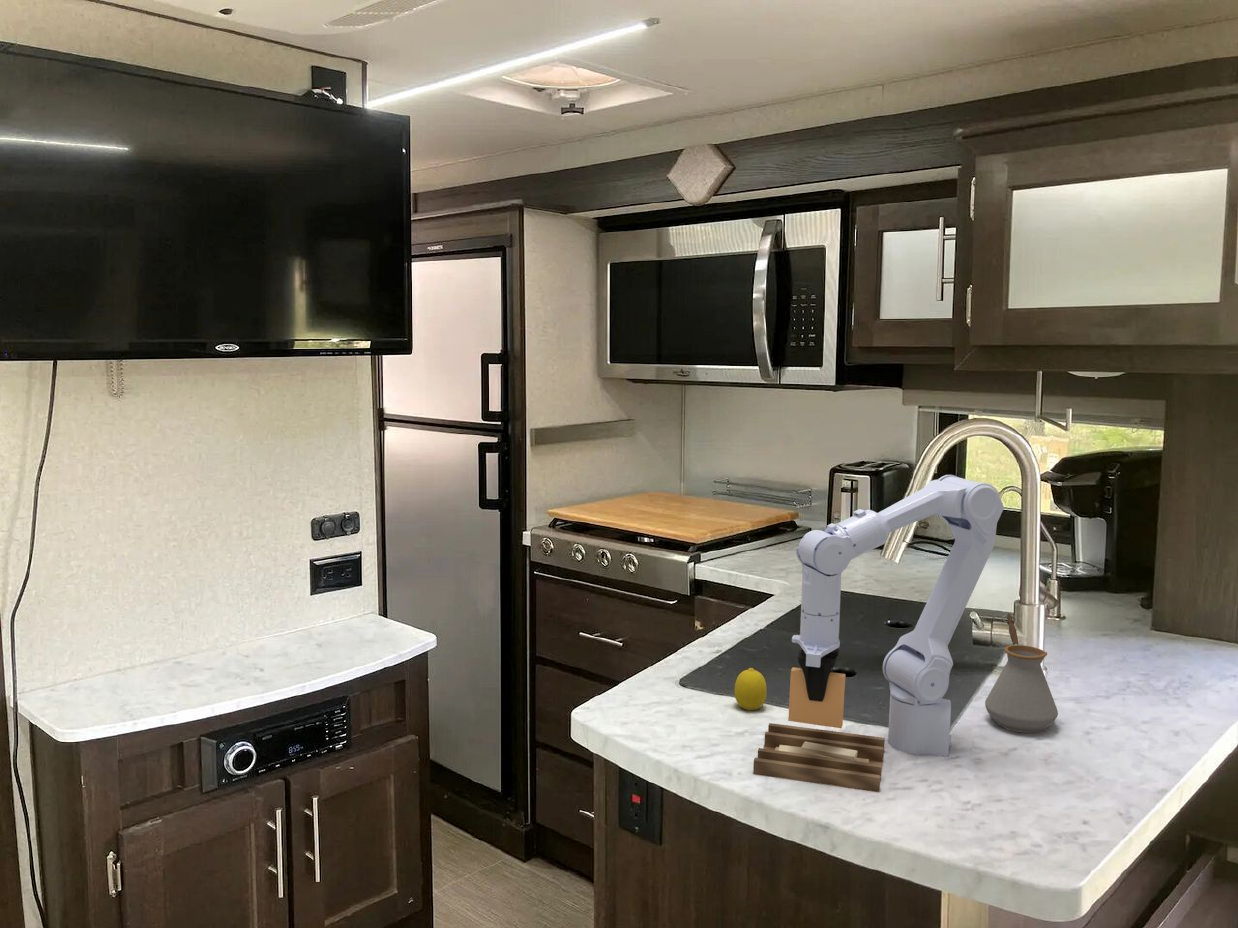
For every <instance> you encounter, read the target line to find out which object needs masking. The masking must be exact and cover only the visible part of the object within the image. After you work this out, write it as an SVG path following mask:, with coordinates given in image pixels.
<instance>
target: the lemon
mask: <svg viewBox="0 0 1238 928" xmlns="http://www.w3.org/2000/svg"><path fill="white" fill-rule="evenodd" d="M767 688H768V687H767V682H766V679H765V677H764V676H763V674H762V673H761V672H759V671H758V670H756V669H754V668H753V667H749V668H748V669H745V670H743V671H742V672H740V673H739V674H738V676H737V678H736V680H735V684H734V697H735V700H736V703H737V704H738V705H739V707H740V708H742V709H744V710H747V711H756V710H758V709H760V708H761V707H762V706H763V705H764V703H765V702H766V699H767V696H768V695H767Z"/></svg>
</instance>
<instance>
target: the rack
mask: <svg viewBox="0 0 1238 928" xmlns="http://www.w3.org/2000/svg"><path fill="white" fill-rule="evenodd" d="M885 738H886V737H881V736H873V735H867V734H859V733H858V734H857V733H850V732H842V731H836V730H835V731H834V730H826V729H818V728H811V727H804V726H796V725H794V726H793V725H788V724H779V723H772V722H769V723H768V731H765V732H764V745H763V747H758V750H757V757H754V758H753V768H752V769H753V773H752V774H753V775H755V776H763V777H769V778H770V777H771V778H777V779H783V780H784V779H785V780H790V781H796V782H797V781H798V782H802V783H803V782H805V783H810V784H819V785H825V786H831V787H839V788H846V789H852V790H861V791H865V792H873V793H880V790H881V789H880V788H881V780H882V772H883V763H884V756H885V741H886V739H885ZM804 742H811V743H817V744H823V745H828V746H834V747H840V748H845V749H851V750H857V757H856V758H863V759H869V763H866V762H858V761H851V760H844V759H836V758H829V757H822V756H814V755H807V754H800V753H793V752H785V751H778V750H775V748H776V747H779V745H786V746H796V747H802V745H803V744H804Z"/></svg>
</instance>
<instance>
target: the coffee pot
mask: <svg viewBox="0 0 1238 928" xmlns="http://www.w3.org/2000/svg"><path fill="white" fill-rule="evenodd" d="M1004 617H1006V620H1007V621H1006V620H1004ZM1013 618H1014V619H1013ZM1001 620H1002V621H1003V622H1004V623H1006V624H1007V625H1008V633H1009V636H1010V639H1011V643H1012V644H1011V645H1007V646H1005V647H1004V649H1003V650H1004V653H1005V654H1007V655H1006V656H1007V662H1006V664H1005V665H1004V667H1003V669H1002V671H1001V672H1000V674H999V676H998V678H997V679H996V681H995V683H994V685H993V686H992V688H991V690H990V691H989V692H988V693H989V694H988V695H987V697H986V699H985V701H984V706H985V709H986V712H987V713H988V715H989V716H990V717H991V718H992V719H993V720H994V721H995V722H996V724H997V725H999V726H1000V727H1001V728H1004V729H1006V730H1008V731H1013V732H1018V733H1023V734H1025V733H1027V734H1033V733H1039V732H1042V731H1044V730H1045V729H1047V728H1048V727H1051V725H1053V724H1054V722H1055V721H1056V719H1057V718H1058V716H1059V711H1058V707H1057V705H1056V703H1055V701H1054V700H1055V699H1054V697H1053V695H1052V692H1051V689H1050V687H1049V684H1048V681H1047V679H1046V678H1047V677H1046V675H1045V673H1044V671H1043V668H1042V665H1041V664H1042V663H1043V660H1044V659H1045V658H1046V657H1047V655H1048V652H1047V651H1045V650H1043V649H1041V648H1038V647H1034V646H1031V645H1030V646H1029V645H1023V644H1019V640H1018V634H1017V633H1018V632H1017V629H1016V626H1015V621H1016V617H1015V616H1014V615H1012V614H1011V613H1007V614H1005V615H1003V616H1002V617H1001Z"/></svg>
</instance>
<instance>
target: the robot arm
mask: <svg viewBox="0 0 1238 928" xmlns="http://www.w3.org/2000/svg"><path fill="white" fill-rule="evenodd" d="M1001 498H1002V497H1000V494H999V492H998V490H997V488H995V486H994V485H992V484H990V483H987V482H979V481H975V480H971V479H967V478H964V477H963V478H962V477H959V476H957V475H954V474H945V475H943V476H941V477H940V478H938V479H933V480H930V481H928V482H927V484H926V485H925V486H924V487H923V488H921V489H919V490H918V491H915V492H914V493H912V494H910V495H908V496H906V497H905V498H903V499H901V500H899V501H897V502H895V503H893V504H892V505H890V506H888V507H886V508H885V509H882V510H880V511H879V512H876V511H874V510H872V509H866V510H864V509H861V508H859V509H856V510H854V511H853V515H852V516H850V517H848V518H846V519H844V520H841V521H840V522H837V523H833V522H832V523H829V524H828V525H826V528H825V530H824V531H823V530H818V529H814V530H811V531H809V532H807V533H805V534H804V535H803V537H802V538H800V539H801V540H800V541H799V544H798V547H795V555H796V558H797V559H798V561H799V562H800V564H801V573H802V577H801V603H800V627H799V628H800V630H799V634H794V635H792V637H791V642H792V643H793V644H798V645H799V646H800V647H801V650H800V652H798V654H797V662H798V664H799V666H800V668H802V670H803V673H804V677H805V682H806V688H807V694H808V698H809V700H811V701H819V702H823V699H824V696H825V692H826V687H827V682H828V678H829V674H830V672H832V669H833V668H834V666H835V664H837V658H838V656H839V654H840V643H841V640H840V638H839V637H840V619H841V618H840V617H841V616H840V615H841V613H840V612H841V593H842V591H841V590H842V589H841V587H842V573H843V572H844V571H845V570H846V569H847V568H848V566H849V564H850V562H851V561H852V560H853V559H854V560H855V558H857V557H860V556H862V555H863V554H866V553H868V552H870V551H872V550H874V549H877V548H878V547H880V546H883V545H885V543H887V541H888V538H889V534H890V533H892V532H895V531H897V530H900V529H903V528H904V527H907V526H909V525H911V524H914V523H917V522H919V521H921V520H924V519H926V518H929V517H931V516H934V515H936V516H940V517H941V518H942V519H943V520H944V522H945V523H946V524H947V525H948V526H949V529H950V531H951V533H952V536H953V538H954V543H953V545H952V547H951V549H950V552H949V553H948V556H947V558H946V560H945V563H944V564H943V567H942V568H941V571H940V573H939V575H938V577H937V579H936V582H935V584H934V586H933V589H932V590H931V593H930V595H929V597H928V599H927V602H926V604H925V605H924V608H923V610H922V612H921V614H920V616H919V619H918V621H917V623H916V624H915V627H914V629H913V630H911V631H910V632H908V633H905V634H903V635H901V636H900V637H899V639H898V641H897V643H896V644H895V646H894V647H893V648H892V649H891V650H889V652H888V653H887V654H886V655H885V657H884V660H883V662H882V674H883V676H884V678H885V680H887V681H888V682H889V685H888V687H889V688H888V690H890V694H889V695H890V696H889V712H888V713H889V715H888V717H889V718H888V732H887V733H888V734H887V736H888V737H887V742H888V743H887V744H888V745H889V746H890V747H891V748H893V750H896V751H898V752H899V751H900V752H901V753H906V754H912V755H929V756H930V755H931V756H938V757H946V758H947V757H948V758H949V751H950V748H951V747H952V735H951V734H950V732H951V718H952V716H951V713H952V711H951V710H952V701H951V700H950V699H946V698H943V697H944V696H945V695H946V693H947V691H948V688H949V684H950V673H951V671H952V668H953V666H954V662H953V661H954V660H953V658H952V656H951V653H950V650H949V647H948V646H949V643H950V642H951V640H952V637H953V635H954V633H955V631H956V628H957V627H958V625H959V622H960V620H961V618H962V615H963V614H964V611H965V609H966V607H967V605H968V603H969V600H970V598H971V596H972V594H973V591H974V590H975V588H976V586H977V583H978V581H979V579H980V577H981V574H982V572H983V571H984V568H985V566H986V563H987V561H988V560H989V558H990V555H991V553H992V551H993V548H994V546H995V543H996V535H997V524H998V522H999V520H1000V518H1001V515H1002V513H1003V511H1004V509H1005V507H1004V506H1005V505H1004V504H1003V501H1002V499H1001ZM922 655H923V656H922Z"/></svg>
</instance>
